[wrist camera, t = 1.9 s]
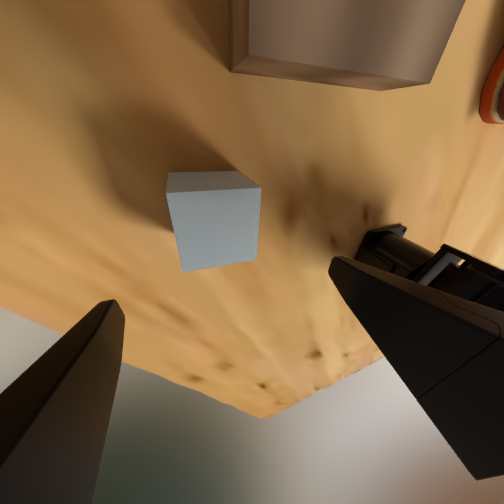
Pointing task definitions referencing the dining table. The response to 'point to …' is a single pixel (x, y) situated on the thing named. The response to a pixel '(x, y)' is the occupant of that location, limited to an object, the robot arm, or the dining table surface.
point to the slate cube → (214, 217)
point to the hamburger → (494, 94)
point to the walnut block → (341, 40)
